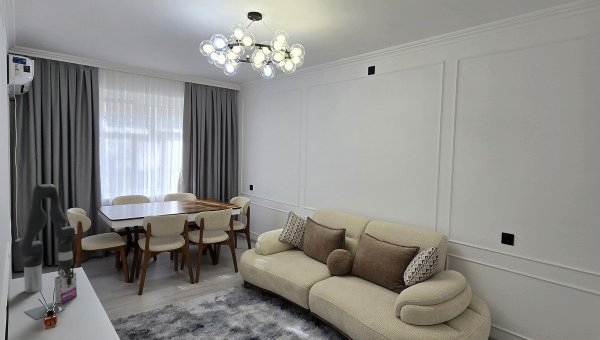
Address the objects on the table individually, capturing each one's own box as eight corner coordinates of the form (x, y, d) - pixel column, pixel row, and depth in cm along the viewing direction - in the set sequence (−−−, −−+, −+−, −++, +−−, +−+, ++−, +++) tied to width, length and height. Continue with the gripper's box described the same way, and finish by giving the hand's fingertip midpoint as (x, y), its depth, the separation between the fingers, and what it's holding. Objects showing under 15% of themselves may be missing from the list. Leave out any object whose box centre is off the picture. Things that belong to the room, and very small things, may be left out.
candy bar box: (70, 295, 215) (70, 271, 214) (76, 296, 214) (76, 271, 213) (54, 303, 204) (54, 277, 203) (61, 304, 203) (60, 278, 202)
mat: (24, 312, 192) (24, 311, 192) (51, 303, 204) (51, 302, 204) (36, 319, 184) (36, 319, 184) (64, 309, 196) (64, 309, 196)
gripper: (53, 257, 208) (53, 282, 209) (64, 261, 201) (64, 287, 202) (66, 254, 215) (67, 279, 215) (77, 258, 207) (78, 283, 208)
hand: (66, 283), depth 209 cm, fingers open, 8 cm apart
